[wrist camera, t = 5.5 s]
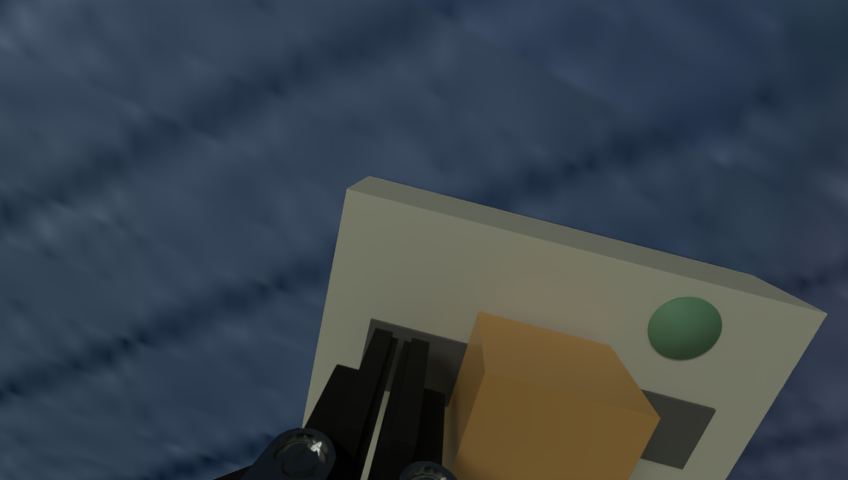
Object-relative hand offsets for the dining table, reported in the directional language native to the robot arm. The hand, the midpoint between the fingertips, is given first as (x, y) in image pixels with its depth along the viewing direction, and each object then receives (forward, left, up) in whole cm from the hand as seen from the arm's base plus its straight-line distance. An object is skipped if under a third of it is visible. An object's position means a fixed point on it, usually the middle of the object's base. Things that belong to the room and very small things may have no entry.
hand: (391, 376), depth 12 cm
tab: (-4, 0, -1) cm, 4 cm away
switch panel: (-4, +5, -4) cm, 8 cm away
